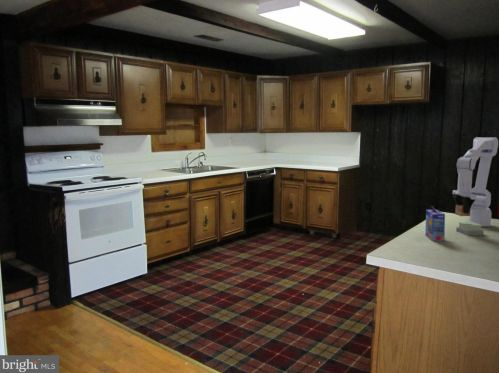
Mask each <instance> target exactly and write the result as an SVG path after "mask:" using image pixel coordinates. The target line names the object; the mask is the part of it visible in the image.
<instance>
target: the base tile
mask: <svg viewBox="0 0 499 373" xmlns="http://www.w3.org/2000/svg"><path fill="white" fill-rule="evenodd" d="M455 229H456V232H457V233H460V234H463V235H465V236H466V237H467V236H469V237H470V236H484V233H485V232H484V229H483V230H482V229H481V230H478V231H467V230H464V229H462V228H459V226H456V228H455Z"/></svg>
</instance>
